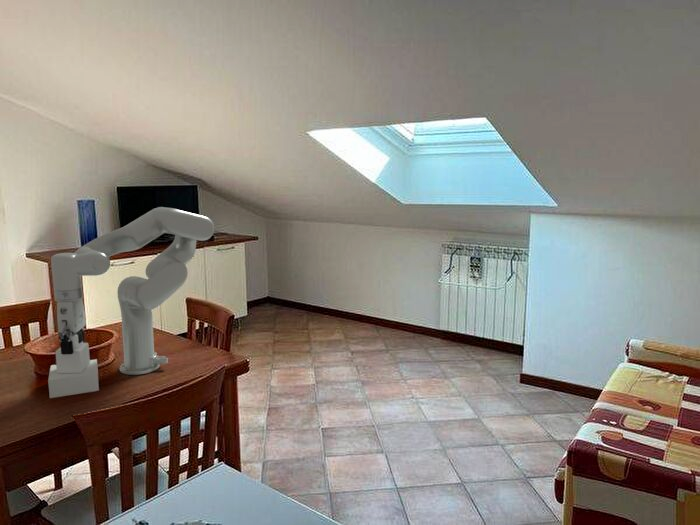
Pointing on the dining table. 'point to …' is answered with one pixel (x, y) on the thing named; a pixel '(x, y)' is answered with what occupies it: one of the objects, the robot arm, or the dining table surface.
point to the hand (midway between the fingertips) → (73, 348)
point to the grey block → (73, 381)
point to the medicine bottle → (74, 356)
